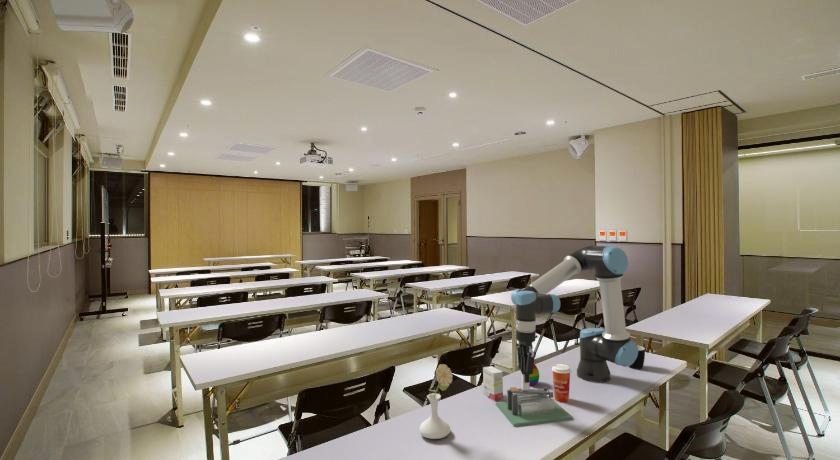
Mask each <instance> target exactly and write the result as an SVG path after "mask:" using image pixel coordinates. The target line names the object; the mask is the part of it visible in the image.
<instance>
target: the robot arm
mask: <svg viewBox="0 0 840 460" xmlns="http://www.w3.org/2000/svg"><path fill="white" fill-rule="evenodd" d="M628 267H629V258H628V256H627V254H626V251H624V250H623V249H622V248H621V247H618V246H612V245H611V246H609V245H585V246H582V247H580V248H578V249H575V250H574V251H573V252H571V253H569V254H567V255H566V256H565V257H564V258H563V260H562V262H560V263H558V264H557V265H556V266H554V267H553V268H552V269H550V270H549V271H547V272H545V274H543V275H541V276H539V277H538V278H537V279H536V280H534V281H532V282H531V283H529V285H527V286H525V287H524V288H516V289H514V290H513V291H512V293H511V296H510V300H511V302H512V304H513V305H515V315H516V316H515V319H516V320H515V321H516V322H515V323H514V324H515V326H516V327H515V329H516V331H515V338H516V340H517V341H518V342H517V343H516V344H515V346H516V352H517V353H516V354H517V364H518V369H519V370H520V372H522V373H521V374H520V376H521V377H520V379H521V381H520V382H521V384H520V387H521V388H520V389H522V390H529V389H530V385H529V375H530V374H533V366H534V364H535V358H536V355H537V353H536V351H533V343H534V342H535V341H536V326H537V323H536V322H537V318H536V316H537V315H544V314H554V313H557V312H559V310H560V308H561V300H560V298H559V296H558V295H556V294H554V293H553V294H551V293H550V292H551V291H553V290H554V289H556V288H558V287H559V286H560V285H561V284H562V283H564V282H565V281H567V280H568V279H570V278H571V277H573V276H574V275H579V274H580V273H582V272H585V271H591V272H592V271H593V272H594V273H593V274H594V277H595V279H597V280H598V283H599V291H600V298H601V308H602V316H603V323H604V328H601V327H589V328H588V327H587V328H583V329H581V330H580V331H579V355H580V356H579V358H580V359H579V362H578V365H577V368H576V376H577V377H578V378H580V379H581V380H584V381H587V382H594V383H605V382H609V381H610V380H611V378H612V376H611V375H612V374H611V371H610V368H609V366H608V363H607V362H610V363H612V364H615V365H616V366H622V367H625V368H626V367H628V366H630V365H632V364H633V363H634V361H635V360H636V358H637V356H638V346H639V345H638V344H637V343H636V342H635V341H633V340H632V338H631V333H630V332H629V331H627V328H626V318H625V312H624V311H625V310H624V300H623V295H622V294H623V293H622V284H621V280H622V278H623V277H624V273H625V272H626V271H627V270H628ZM637 345H638V346H637Z"/></svg>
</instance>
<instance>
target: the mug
mask: <svg viewBox="0 0 840 460" xmlns="http://www.w3.org/2000/svg"><path fill="white" fill-rule="evenodd" d="M637 346H638V356H637V358H636V360H635V361H634V363H633V364H632V365H630V366H627V367H628V368H630V369H632V370H642V369H643V367H644V365H645V364H644V363H645V360H646V359H645V357H646V348H645V347H644V346H641V345H638V344H637Z"/></svg>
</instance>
